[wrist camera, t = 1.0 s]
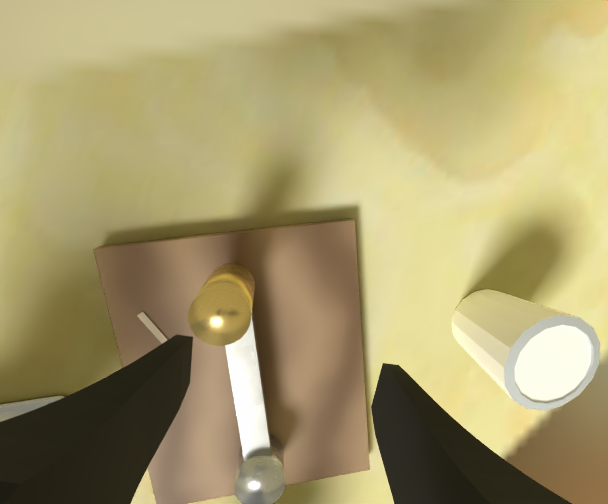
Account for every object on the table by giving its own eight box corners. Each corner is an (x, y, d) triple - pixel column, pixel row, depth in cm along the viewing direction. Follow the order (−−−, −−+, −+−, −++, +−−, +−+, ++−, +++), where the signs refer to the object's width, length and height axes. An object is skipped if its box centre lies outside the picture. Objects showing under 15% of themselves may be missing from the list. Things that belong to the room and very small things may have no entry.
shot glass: (448, 283, 26) (513, 318, 19) (524, 280, 27) (612, 313, 20) (440, 358, 27) (498, 415, 21) (513, 354, 28) (591, 408, 21)
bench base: (162, 494, 27) (157, 510, 26) (102, 245, 22) (92, 249, 21) (365, 458, 29) (370, 470, 27) (350, 218, 24) (355, 220, 23)
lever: (241, 474, 26) (232, 580, 19) (205, 258, 22) (176, 293, 15) (285, 466, 26) (292, 568, 19) (257, 252, 22) (252, 283, 15)
